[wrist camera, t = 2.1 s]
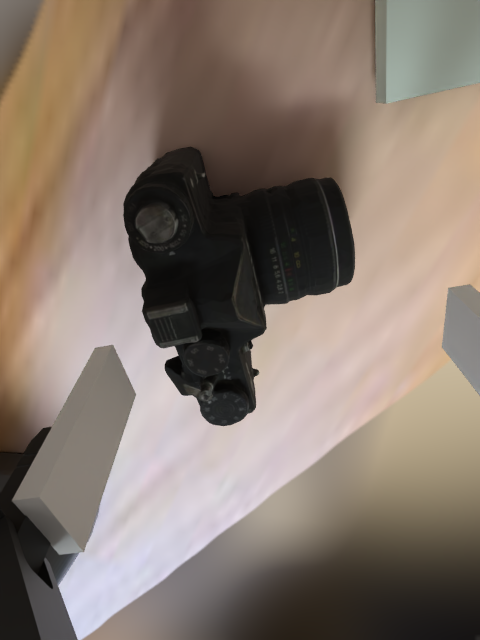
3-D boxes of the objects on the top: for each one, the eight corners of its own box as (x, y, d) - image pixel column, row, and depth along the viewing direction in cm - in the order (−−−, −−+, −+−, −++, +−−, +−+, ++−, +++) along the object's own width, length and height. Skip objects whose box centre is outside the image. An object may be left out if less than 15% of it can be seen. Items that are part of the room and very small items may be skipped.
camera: (337, 321, 28) (383, 422, 20) (199, 346, 29) (185, 453, 21) (319, 114, 21) (380, 130, 12) (137, 156, 22) (77, 199, 13)
